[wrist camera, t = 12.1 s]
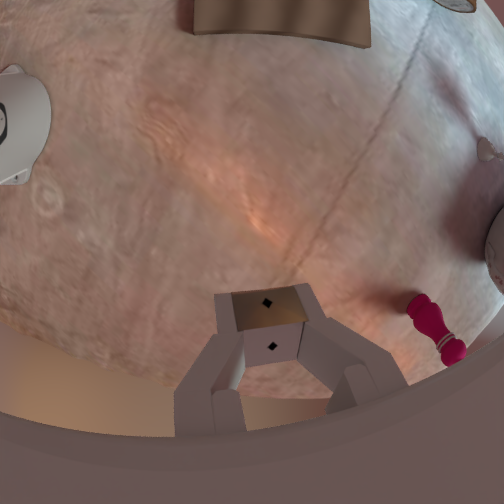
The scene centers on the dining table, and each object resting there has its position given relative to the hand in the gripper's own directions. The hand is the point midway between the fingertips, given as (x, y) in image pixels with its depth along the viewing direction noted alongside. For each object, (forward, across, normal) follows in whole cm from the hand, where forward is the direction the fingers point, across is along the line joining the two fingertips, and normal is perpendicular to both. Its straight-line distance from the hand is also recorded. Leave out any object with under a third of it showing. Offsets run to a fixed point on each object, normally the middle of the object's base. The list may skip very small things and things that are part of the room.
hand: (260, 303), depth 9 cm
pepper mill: (+26, -42, +34) cm, 60 cm away
